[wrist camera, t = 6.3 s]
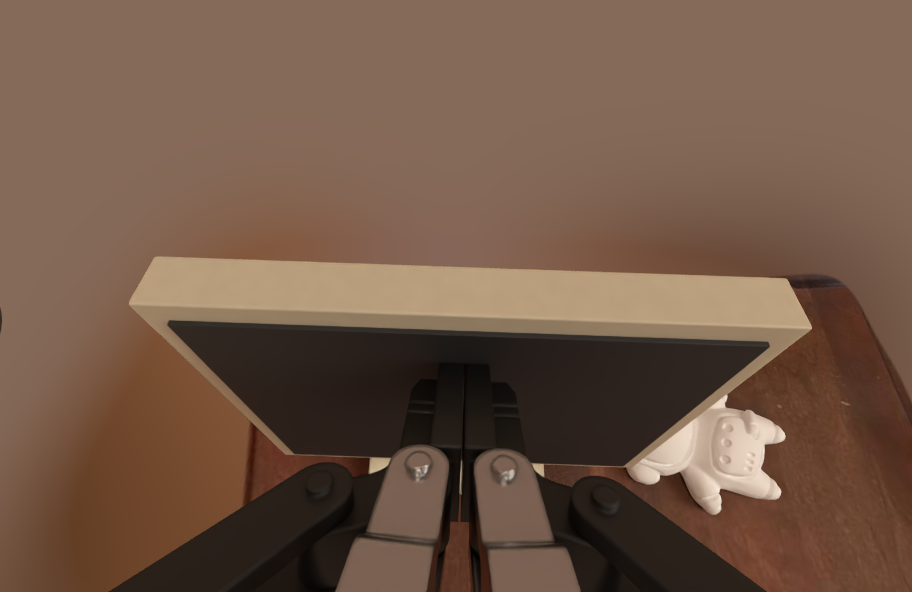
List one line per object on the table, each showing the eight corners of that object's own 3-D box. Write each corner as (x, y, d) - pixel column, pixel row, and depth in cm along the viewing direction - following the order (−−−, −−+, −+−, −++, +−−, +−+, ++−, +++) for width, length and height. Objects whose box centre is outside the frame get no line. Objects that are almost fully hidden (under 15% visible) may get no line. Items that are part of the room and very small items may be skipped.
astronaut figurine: (763, 538, 29) (796, 545, 27) (592, 463, 31) (606, 462, 28) (781, 415, 32) (812, 410, 30) (624, 352, 34) (639, 342, 31)
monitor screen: (633, 471, 21) (816, 333, 11) (284, 458, 21) (122, 309, 11) (625, 435, 22) (787, 277, 12) (292, 422, 22) (153, 255, 12)
